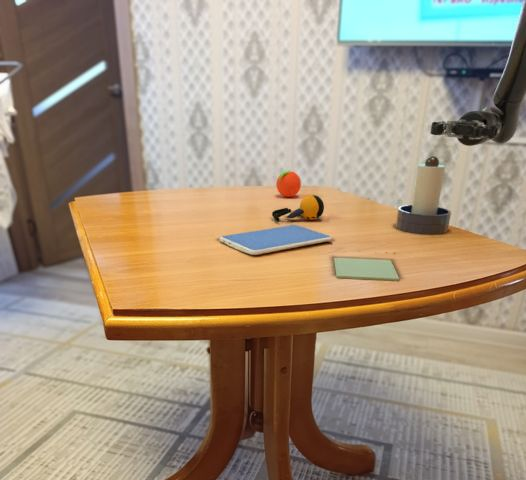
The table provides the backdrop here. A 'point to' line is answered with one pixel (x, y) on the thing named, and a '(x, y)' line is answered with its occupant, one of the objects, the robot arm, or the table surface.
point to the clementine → (288, 184)
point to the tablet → (274, 239)
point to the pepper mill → (428, 187)
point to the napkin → (365, 269)
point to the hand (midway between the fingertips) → (454, 131)
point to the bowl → (423, 221)
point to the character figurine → (303, 209)
